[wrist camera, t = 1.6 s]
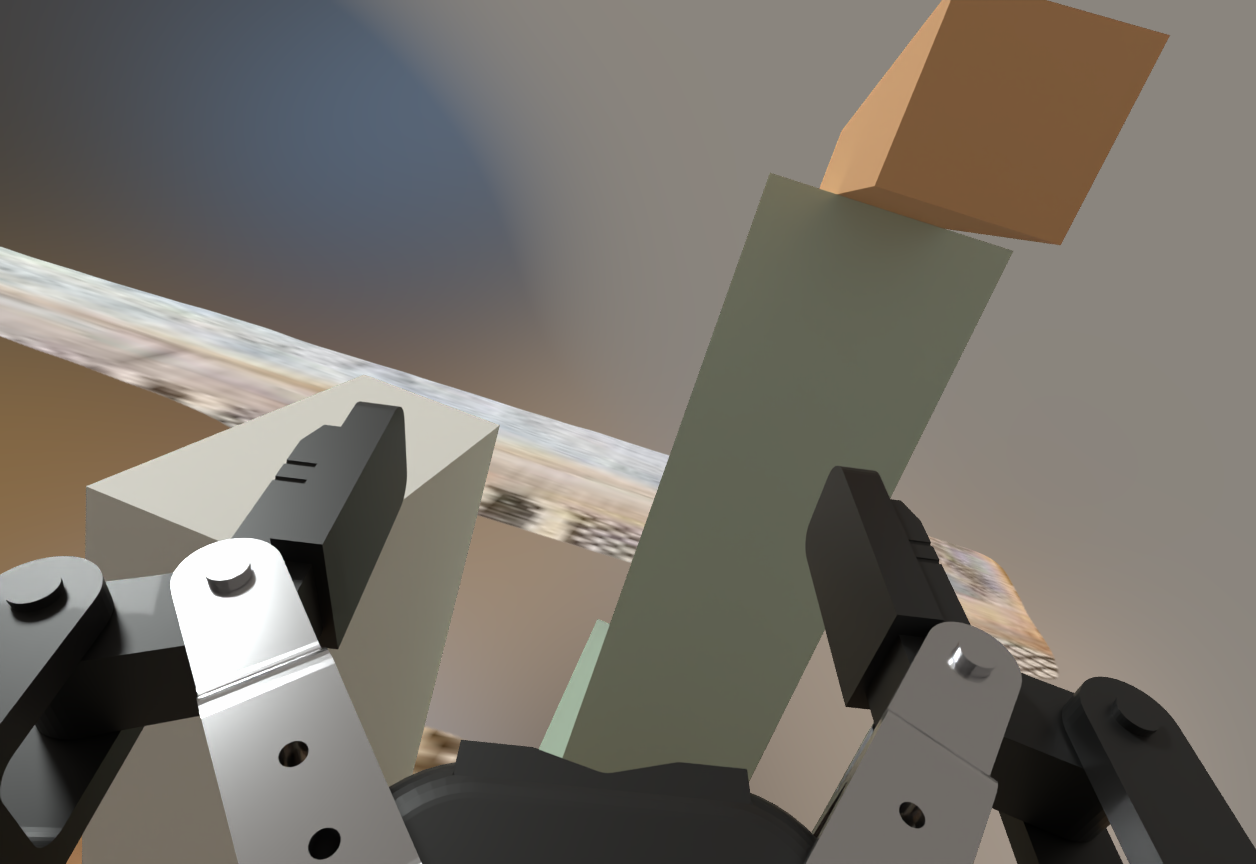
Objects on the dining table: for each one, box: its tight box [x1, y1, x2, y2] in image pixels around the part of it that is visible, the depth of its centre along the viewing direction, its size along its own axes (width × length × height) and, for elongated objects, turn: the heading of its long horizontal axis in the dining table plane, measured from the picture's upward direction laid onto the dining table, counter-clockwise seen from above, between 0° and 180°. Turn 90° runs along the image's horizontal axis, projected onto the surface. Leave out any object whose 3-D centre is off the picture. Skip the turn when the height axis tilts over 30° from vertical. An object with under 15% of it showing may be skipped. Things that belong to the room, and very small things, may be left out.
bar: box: [820, 0, 1169, 245], centre depth 24 cm, size 4×26×4 cm, turn 168°
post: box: [82, 375, 500, 864], centre depth 22 cm, size 5×10×22 cm, turn 168°
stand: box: [539, 173, 1013, 781], centre depth 35 cm, size 11×18×32 cm, turn 168°
